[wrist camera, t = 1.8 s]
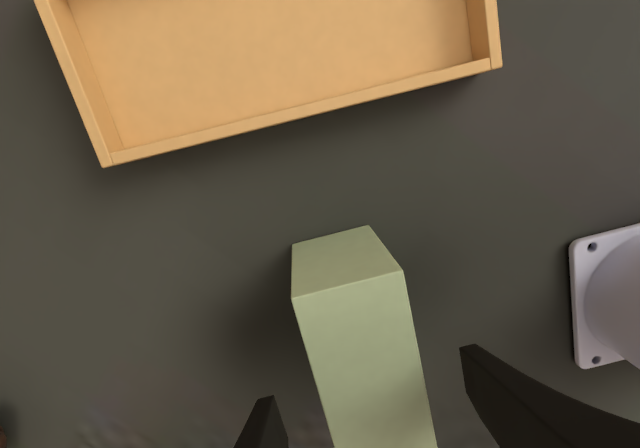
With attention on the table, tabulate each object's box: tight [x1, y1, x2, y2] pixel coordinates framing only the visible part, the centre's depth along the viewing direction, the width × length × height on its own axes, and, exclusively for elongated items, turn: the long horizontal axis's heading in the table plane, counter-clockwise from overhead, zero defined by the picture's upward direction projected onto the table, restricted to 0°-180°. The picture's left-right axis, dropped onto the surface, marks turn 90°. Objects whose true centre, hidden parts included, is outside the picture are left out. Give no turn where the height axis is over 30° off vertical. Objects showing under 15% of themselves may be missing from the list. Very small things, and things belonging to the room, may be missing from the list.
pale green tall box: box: [291, 225, 437, 448], centre depth 16 cm, size 4×9×6 cm, turn 14°
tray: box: [34, 0, 502, 168], centre depth 15 cm, size 17×8×2 cm, turn 104°
